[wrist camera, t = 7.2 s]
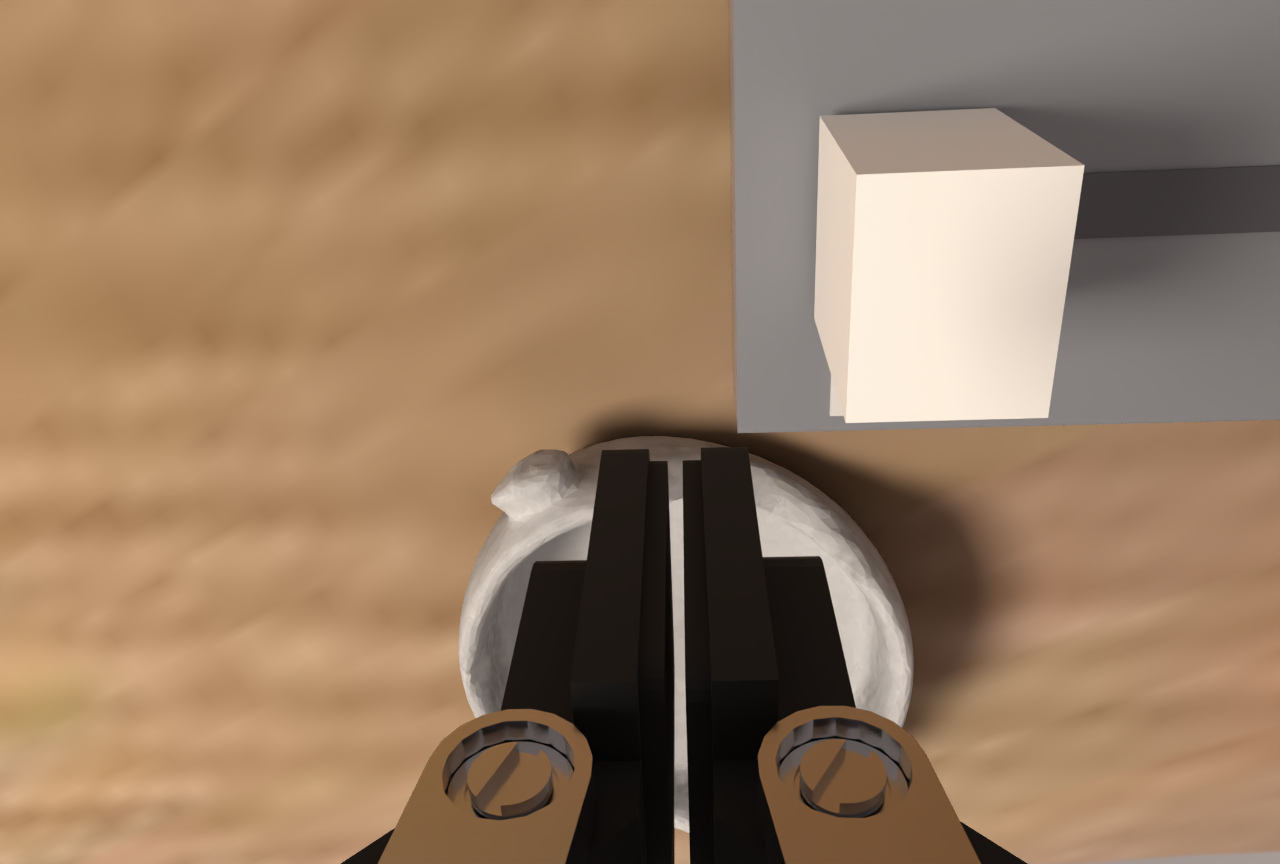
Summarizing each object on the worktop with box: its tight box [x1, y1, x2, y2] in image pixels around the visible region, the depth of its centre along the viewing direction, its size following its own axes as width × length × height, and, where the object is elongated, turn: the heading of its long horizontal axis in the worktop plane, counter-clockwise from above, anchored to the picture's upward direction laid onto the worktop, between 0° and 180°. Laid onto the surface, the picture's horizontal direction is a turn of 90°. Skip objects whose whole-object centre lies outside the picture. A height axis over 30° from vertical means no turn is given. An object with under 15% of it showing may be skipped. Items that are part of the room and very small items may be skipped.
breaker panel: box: [729, 0, 1280, 433], centre depth 26 cm, size 20×12×3 cm, turn 93°
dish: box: [458, 436, 914, 833], centre depth 32 cm, size 14×14×5 cm
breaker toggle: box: [814, 108, 1085, 423], centre depth 22 cm, size 4×5×6 cm
